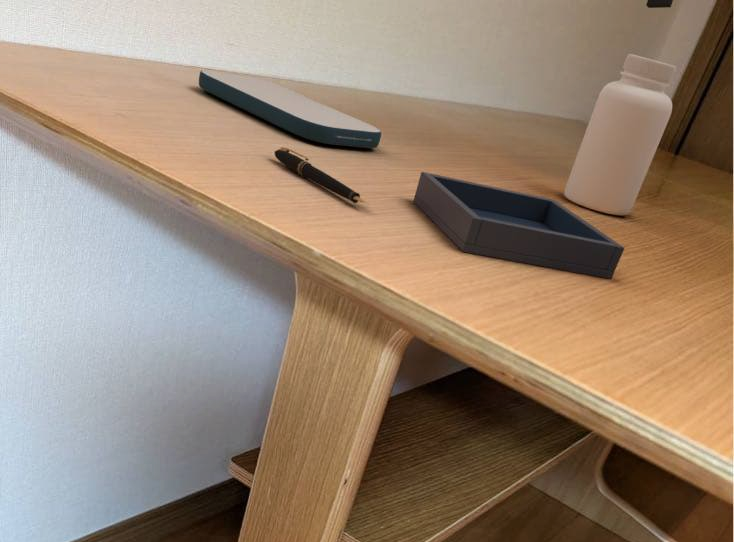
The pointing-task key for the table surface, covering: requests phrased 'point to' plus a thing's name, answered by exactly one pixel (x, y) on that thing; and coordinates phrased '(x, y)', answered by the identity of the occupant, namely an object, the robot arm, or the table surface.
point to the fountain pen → (315, 174)
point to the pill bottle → (622, 137)
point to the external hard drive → (290, 110)
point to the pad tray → (515, 226)
